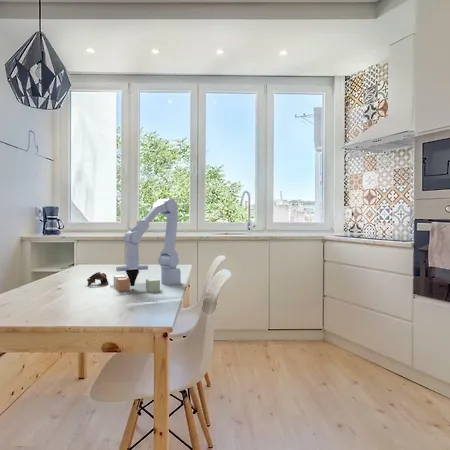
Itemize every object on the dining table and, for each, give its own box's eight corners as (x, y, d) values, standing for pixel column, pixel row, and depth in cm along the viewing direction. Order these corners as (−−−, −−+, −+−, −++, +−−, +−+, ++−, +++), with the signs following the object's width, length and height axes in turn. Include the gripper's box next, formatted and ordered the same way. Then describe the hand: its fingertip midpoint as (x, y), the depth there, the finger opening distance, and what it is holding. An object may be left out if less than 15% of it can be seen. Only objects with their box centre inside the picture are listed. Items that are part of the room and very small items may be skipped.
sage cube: (156, 289, 175) (156, 278, 175) (159, 291, 171) (160, 280, 171) (146, 290, 173) (146, 279, 173) (149, 292, 168) (149, 281, 168)
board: (147, 284, 193) (147, 282, 193) (164, 293, 170) (164, 291, 170) (109, 287, 184) (109, 285, 184) (121, 297, 161) (121, 295, 161)
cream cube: (124, 285, 186) (124, 274, 186) (126, 286, 182) (126, 276, 181) (113, 285, 184) (113, 275, 184) (115, 287, 179) (115, 277, 179)
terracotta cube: (127, 288, 178) (127, 277, 178) (129, 289, 173) (129, 279, 173) (116, 289, 175) (116, 278, 175) (118, 290, 171) (118, 279, 171)
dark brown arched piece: (106, 289, 183) (97, 275, 181) (90, 297, 184) (81, 283, 182) (115, 279, 194) (106, 265, 192) (99, 286, 196) (91, 273, 194)
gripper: (118, 258, 169) (118, 288, 169) (149, 257, 176) (149, 285, 176) (115, 256, 175) (115, 285, 176) (145, 255, 182) (145, 283, 182)
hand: (132, 285), depth 176 cm, fingers closed
